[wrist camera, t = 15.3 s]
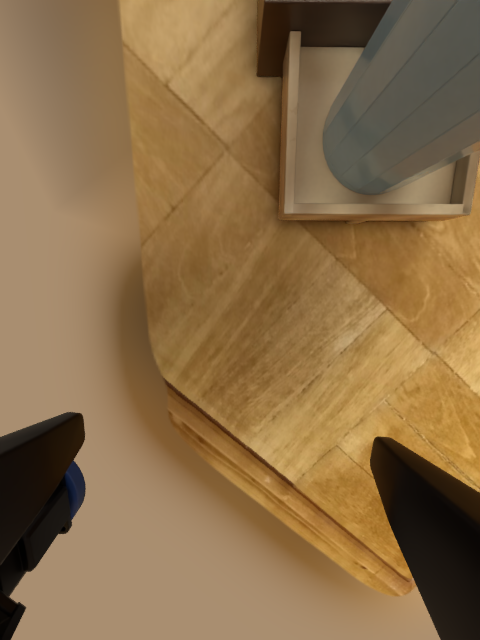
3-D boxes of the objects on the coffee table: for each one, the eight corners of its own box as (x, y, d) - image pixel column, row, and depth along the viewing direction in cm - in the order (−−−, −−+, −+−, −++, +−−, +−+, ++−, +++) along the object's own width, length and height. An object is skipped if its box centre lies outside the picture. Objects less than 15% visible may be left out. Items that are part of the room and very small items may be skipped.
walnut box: (254, 223, 19) (260, 208, 14) (258, -103, 16) (268, -273, 11) (450, 224, 19) (523, 209, 14) (498, -100, 16) (616, -266, 11)
